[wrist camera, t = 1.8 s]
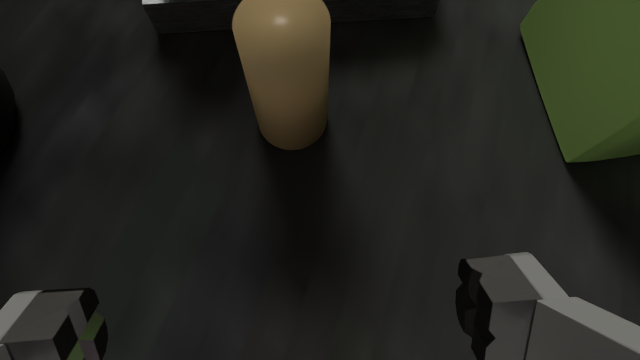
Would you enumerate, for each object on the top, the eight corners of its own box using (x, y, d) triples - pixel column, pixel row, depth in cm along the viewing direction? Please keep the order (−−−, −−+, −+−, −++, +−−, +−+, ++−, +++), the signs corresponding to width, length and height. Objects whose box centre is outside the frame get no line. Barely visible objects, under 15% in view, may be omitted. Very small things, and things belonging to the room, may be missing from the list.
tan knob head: (324, 86, 31) (326, -19, 22) (330, 147, 29) (334, 60, 20) (256, 90, 31) (231, -14, 22) (259, 152, 29) (232, 67, 20)
